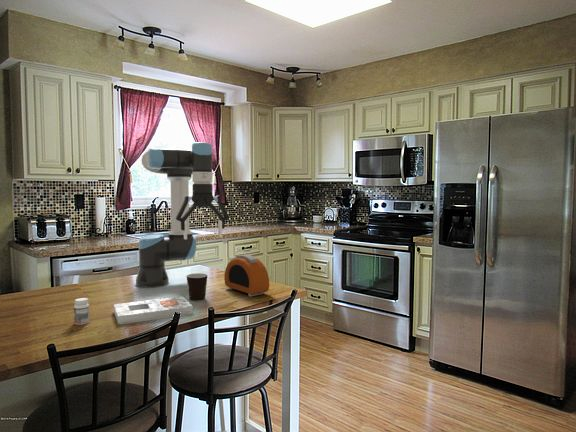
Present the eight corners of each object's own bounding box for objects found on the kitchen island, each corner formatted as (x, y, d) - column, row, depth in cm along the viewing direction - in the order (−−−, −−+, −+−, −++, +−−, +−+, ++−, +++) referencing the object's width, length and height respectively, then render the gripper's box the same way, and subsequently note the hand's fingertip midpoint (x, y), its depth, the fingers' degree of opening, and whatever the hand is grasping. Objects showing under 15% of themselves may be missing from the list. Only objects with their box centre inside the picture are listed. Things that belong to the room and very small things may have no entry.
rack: (113, 312, 160) (113, 303, 159) (182, 303, 172) (182, 295, 171) (118, 324, 146) (118, 315, 145) (193, 314, 157) (193, 305, 157)
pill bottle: (77, 320, 150) (77, 297, 149) (91, 320, 150) (90, 297, 149) (72, 325, 145) (71, 301, 144) (86, 324, 145) (85, 301, 145)
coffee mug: (202, 302, 173) (202, 278, 172) (183, 301, 175) (182, 277, 174) (213, 295, 185) (213, 272, 184) (195, 293, 186) (194, 271, 185)
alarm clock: (223, 288, 197) (223, 252, 195) (239, 285, 203) (239, 250, 201) (253, 298, 179) (253, 259, 178) (270, 295, 185) (270, 257, 184)
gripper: (170, 183, 154) (171, 240, 156) (236, 183, 164) (236, 237, 166) (167, 183, 161) (168, 238, 163) (231, 183, 171) (231, 235, 173)
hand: (203, 238), depth 164 cm, fingers open, 13 cm apart
